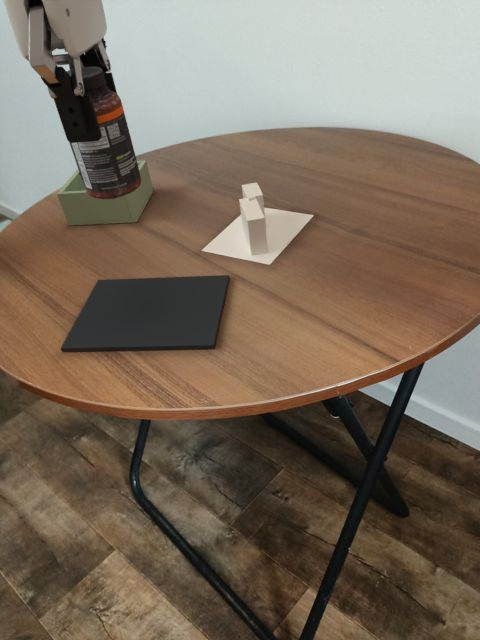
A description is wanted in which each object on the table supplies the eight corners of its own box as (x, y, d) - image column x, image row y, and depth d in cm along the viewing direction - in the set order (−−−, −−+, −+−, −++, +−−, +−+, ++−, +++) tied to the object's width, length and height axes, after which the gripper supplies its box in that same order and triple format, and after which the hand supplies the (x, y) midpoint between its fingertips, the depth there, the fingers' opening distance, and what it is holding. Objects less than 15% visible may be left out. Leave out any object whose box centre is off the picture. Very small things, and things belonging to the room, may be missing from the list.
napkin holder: (271, 265, 70) (267, 226, 66) (200, 251, 75) (193, 214, 71) (314, 214, 80) (313, 178, 76) (249, 205, 84) (245, 170, 80)
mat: (62, 352, 60) (60, 348, 60) (99, 283, 71) (97, 279, 70) (214, 348, 58) (213, 344, 58) (229, 278, 69) (229, 274, 68)
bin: (68, 225, 85) (56, 193, 81) (91, 194, 93) (81, 164, 90) (137, 222, 83) (128, 189, 80) (153, 190, 92) (146, 160, 88)
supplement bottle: (101, 177, 58) (67, 64, 50) (151, 177, 57) (123, 61, 49) (76, 201, 53) (35, 81, 46) (129, 202, 52) (96, 78, 45)
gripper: (24, -113, 46) (88, 104, 58) (-87, -112, 33) (24, 166, 45) (106, -123, 45) (153, 98, 57) (24, -127, 32) (107, 160, 44)
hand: (96, 126), depth 51 cm, fingers closed on supplement bottle, 6 cm apart
